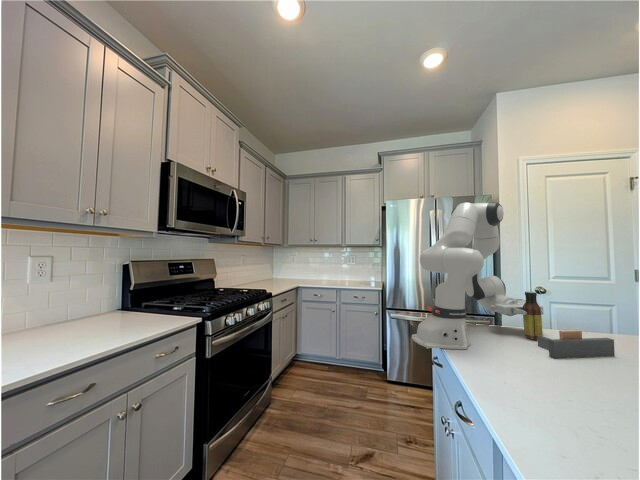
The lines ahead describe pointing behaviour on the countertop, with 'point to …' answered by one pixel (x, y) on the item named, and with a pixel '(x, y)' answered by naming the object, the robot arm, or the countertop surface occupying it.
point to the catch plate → (570, 334)
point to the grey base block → (577, 347)
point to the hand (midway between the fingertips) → (534, 312)
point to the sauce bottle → (532, 317)
